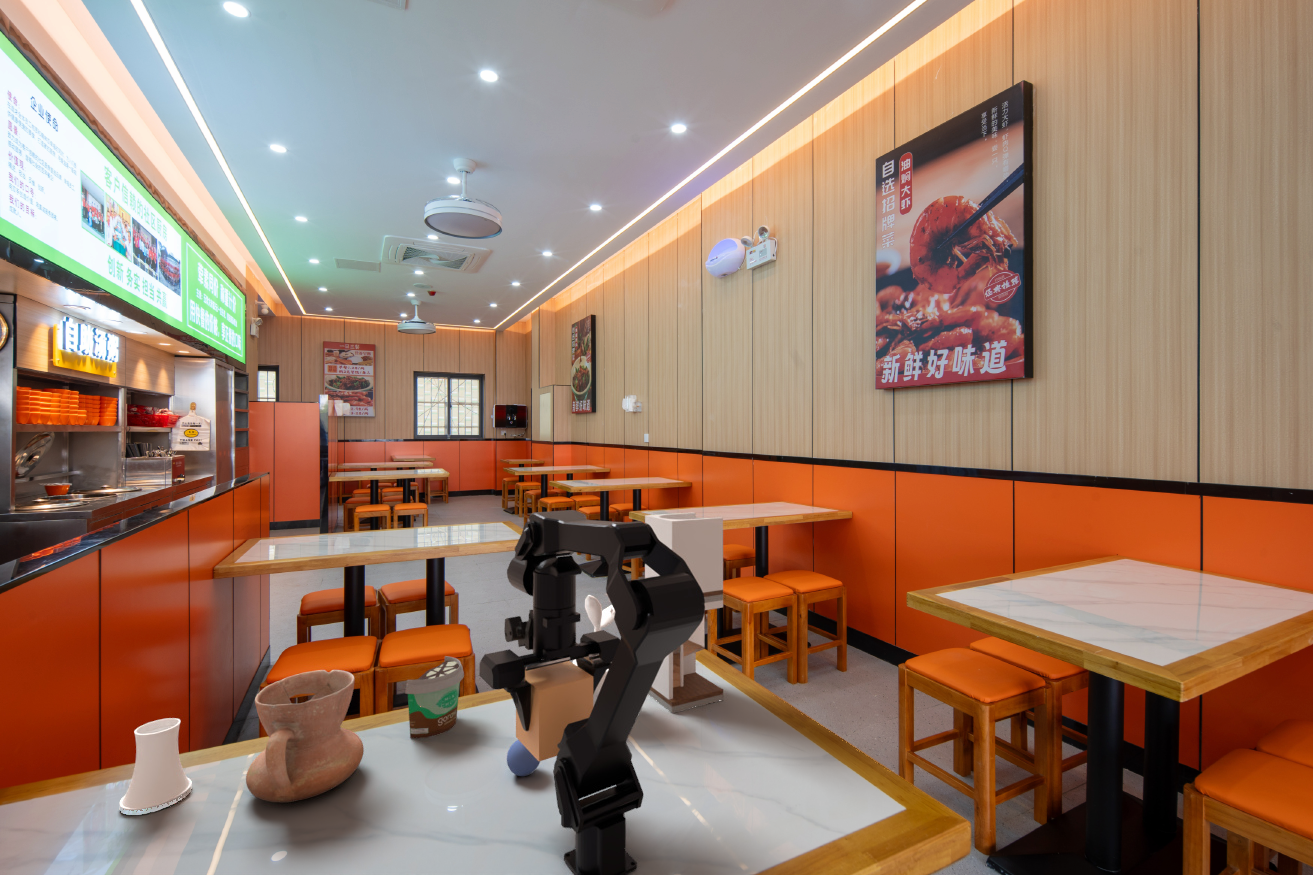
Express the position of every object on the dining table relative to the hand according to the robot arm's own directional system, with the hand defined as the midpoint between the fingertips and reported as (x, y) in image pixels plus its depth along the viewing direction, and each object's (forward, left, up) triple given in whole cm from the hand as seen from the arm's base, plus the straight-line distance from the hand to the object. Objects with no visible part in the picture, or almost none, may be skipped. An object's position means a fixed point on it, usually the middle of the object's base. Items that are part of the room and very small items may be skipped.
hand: (554, 721), depth 78 cm
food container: (+33, +6, -12) cm, 35 cm away
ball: (+11, 0, -9) cm, 14 cm away
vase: (+34, +44, -12) cm, 57 cm away
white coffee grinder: (+19, -36, -12) cm, 42 cm away
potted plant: (+21, -20, -12) cm, 31 cm away
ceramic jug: (+26, +27, -12) cm, 39 cm away
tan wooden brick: (0, 0, -3) cm, 3 cm away
